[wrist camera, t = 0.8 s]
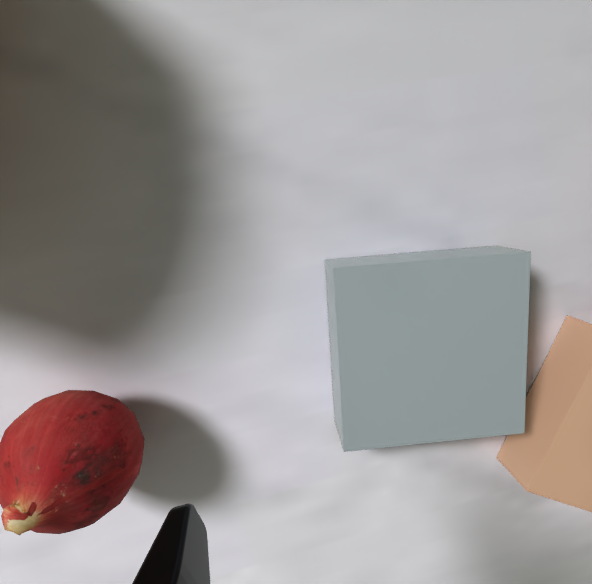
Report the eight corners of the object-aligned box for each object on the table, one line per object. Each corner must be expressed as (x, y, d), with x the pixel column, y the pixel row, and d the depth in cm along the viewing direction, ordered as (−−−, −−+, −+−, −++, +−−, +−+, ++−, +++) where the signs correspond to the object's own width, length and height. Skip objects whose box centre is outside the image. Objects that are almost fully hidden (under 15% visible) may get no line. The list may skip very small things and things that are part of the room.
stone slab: (493, 405, 24) (524, 433, 21) (334, 421, 24) (343, 451, 21) (496, 245, 22) (530, 251, 20) (324, 259, 22) (333, 267, 19)
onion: (136, 351, 22) (65, 429, 15) (176, 446, 24) (130, 566, 16) (29, 385, 22) (-100, 482, 15) (74, 479, 24) (-23, 616, 16)
